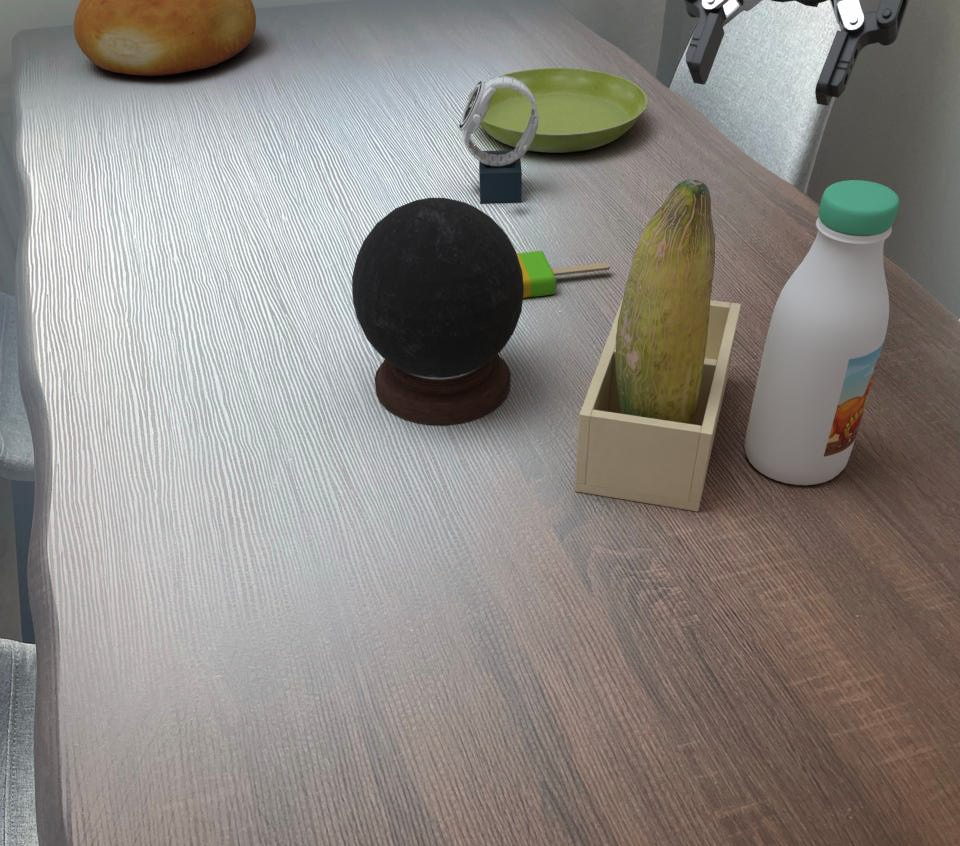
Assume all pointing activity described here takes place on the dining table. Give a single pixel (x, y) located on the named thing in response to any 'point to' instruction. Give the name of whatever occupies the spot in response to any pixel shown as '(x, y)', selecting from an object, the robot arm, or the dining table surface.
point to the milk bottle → (824, 341)
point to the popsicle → (547, 273)
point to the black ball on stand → (438, 309)
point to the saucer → (565, 109)
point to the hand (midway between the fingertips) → (757, 88)
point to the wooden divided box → (653, 430)
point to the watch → (500, 166)
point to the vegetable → (667, 309)
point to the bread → (162, 33)
